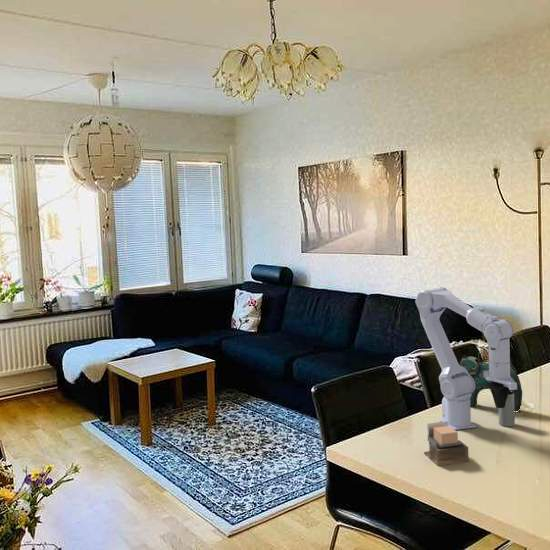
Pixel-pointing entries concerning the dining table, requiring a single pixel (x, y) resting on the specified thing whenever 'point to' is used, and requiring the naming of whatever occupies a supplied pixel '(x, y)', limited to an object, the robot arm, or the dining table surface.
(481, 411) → the dining table surface
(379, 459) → the dining table surface
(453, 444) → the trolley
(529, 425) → the dining table surface
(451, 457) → the dock
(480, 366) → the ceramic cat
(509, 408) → the grey cylinder
